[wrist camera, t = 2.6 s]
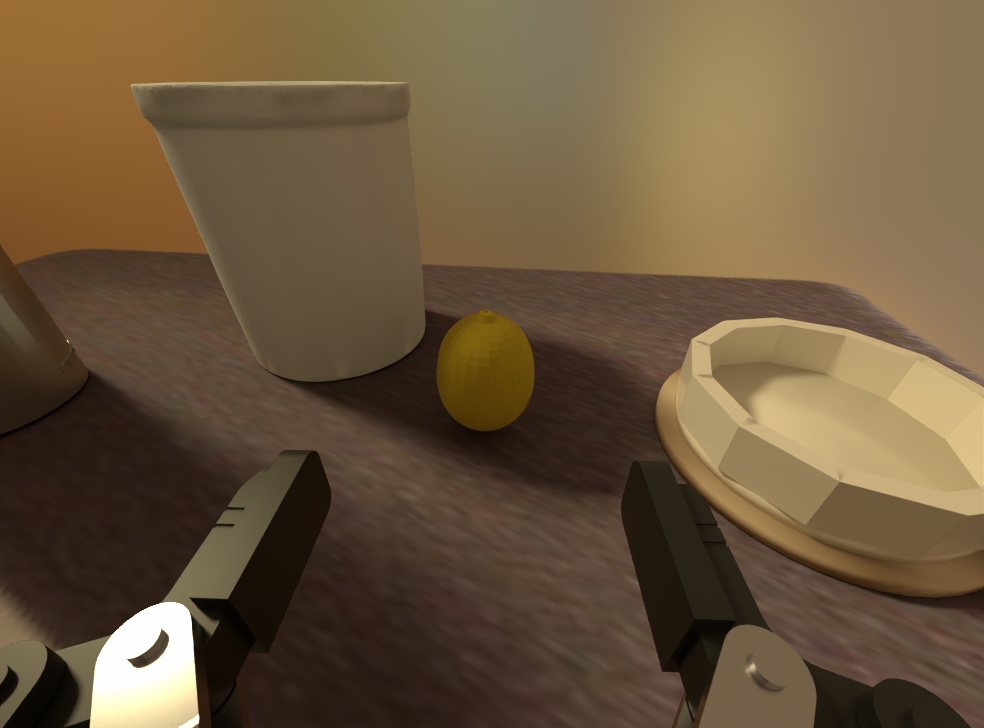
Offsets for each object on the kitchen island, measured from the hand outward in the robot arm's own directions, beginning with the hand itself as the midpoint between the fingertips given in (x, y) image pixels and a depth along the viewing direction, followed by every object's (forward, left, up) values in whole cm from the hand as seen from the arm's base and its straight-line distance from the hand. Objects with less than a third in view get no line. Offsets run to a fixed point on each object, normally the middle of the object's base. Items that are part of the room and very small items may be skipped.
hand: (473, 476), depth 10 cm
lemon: (+7, +9, -9) cm, 15 cm away
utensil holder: (+4, +25, -9) cm, 27 cm away
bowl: (+21, -4, -8) cm, 23 cm away
